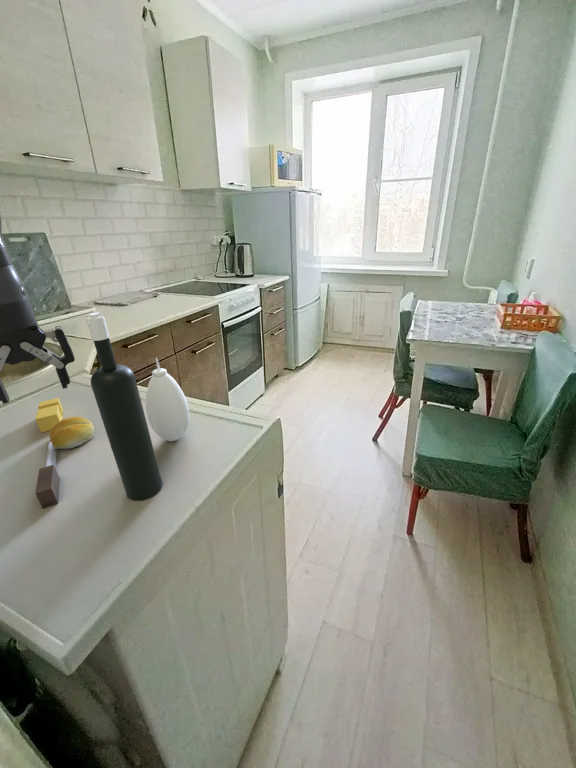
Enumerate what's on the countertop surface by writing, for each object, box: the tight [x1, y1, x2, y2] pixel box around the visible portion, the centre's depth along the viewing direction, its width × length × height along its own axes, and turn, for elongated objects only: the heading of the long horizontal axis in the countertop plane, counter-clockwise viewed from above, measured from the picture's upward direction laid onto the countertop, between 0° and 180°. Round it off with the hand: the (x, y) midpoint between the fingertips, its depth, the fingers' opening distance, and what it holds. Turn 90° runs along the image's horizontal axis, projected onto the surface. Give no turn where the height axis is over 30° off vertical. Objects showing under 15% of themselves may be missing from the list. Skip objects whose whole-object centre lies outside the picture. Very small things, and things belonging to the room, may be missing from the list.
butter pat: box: [37, 397, 64, 416], centre depth 83 cm, size 2×4×4 cm, turn 118°
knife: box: [35, 441, 61, 509], centre depth 63 cm, size 16×2×3 cm, turn 29°
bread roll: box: [49, 416, 96, 450], centre depth 74 cm, size 8×9×4 cm
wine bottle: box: [84, 311, 163, 502], centre depth 53 cm, size 6×6×30 cm
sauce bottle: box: [145, 357, 191, 442], centre depth 69 cm, size 8×8×18 cm
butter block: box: [35, 405, 64, 433], centre depth 79 cm, size 5×4×4 cm
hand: (36, 394), depth 60 cm, fingers open, 8 cm apart
